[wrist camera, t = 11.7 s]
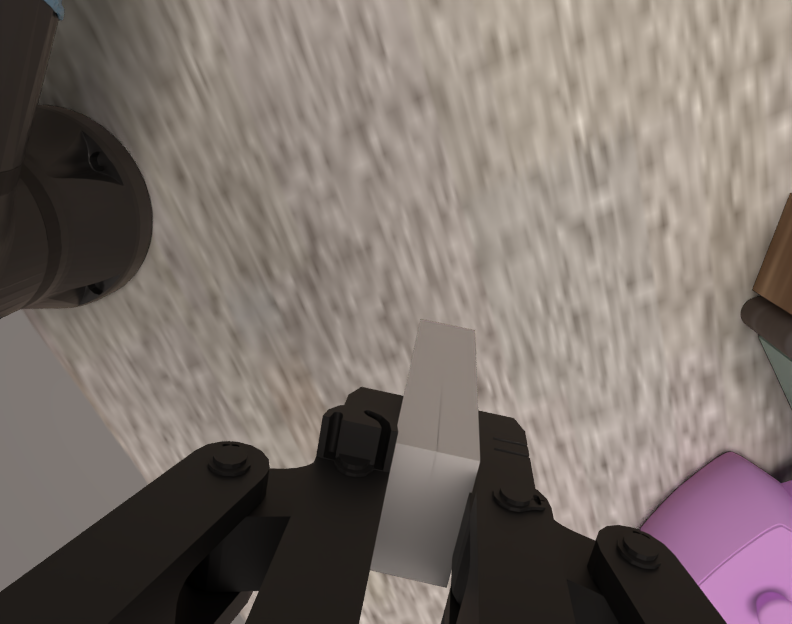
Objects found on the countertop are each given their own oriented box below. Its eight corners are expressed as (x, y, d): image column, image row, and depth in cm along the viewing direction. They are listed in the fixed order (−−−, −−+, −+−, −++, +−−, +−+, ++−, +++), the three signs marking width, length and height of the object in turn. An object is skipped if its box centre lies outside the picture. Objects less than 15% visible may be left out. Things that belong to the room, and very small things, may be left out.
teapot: (685, 624, 54) (734, 737, 44) (592, 558, 53) (620, 659, 43) (853, 487, 48) (951, 582, 39) (752, 411, 47) (826, 489, 38)
